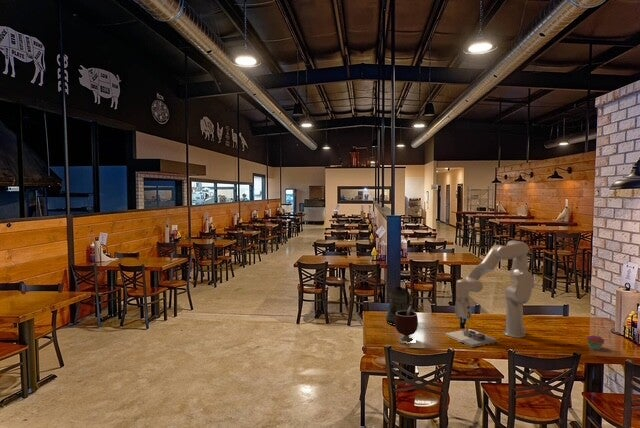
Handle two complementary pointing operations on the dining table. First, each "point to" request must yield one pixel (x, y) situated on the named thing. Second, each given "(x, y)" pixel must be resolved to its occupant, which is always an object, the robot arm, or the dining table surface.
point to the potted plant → (397, 303)
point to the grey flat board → (471, 338)
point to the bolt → (467, 330)
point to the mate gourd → (406, 323)
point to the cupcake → (595, 341)
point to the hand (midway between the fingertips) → (462, 328)
